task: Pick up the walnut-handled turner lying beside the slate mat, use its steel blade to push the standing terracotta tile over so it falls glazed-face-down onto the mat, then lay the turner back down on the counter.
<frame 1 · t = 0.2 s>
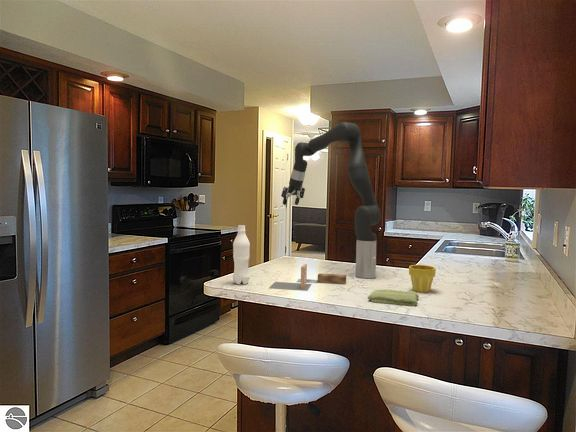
hand: (290, 204, 240), 31 cm above the countertop, tool tilted 20°, fingers open, 8 cm apart
turner: (331, 284, 183), on the countertop
water bottle: (241, 283, 181), on the countertop
washcloth: (393, 301, 158), on the countertop
plant pot: (421, 290, 173), on the countertop
slate mat: (290, 287, 175), on the countertop
tile: (303, 286, 174), point 1 cm above the countertop, touching slate mat
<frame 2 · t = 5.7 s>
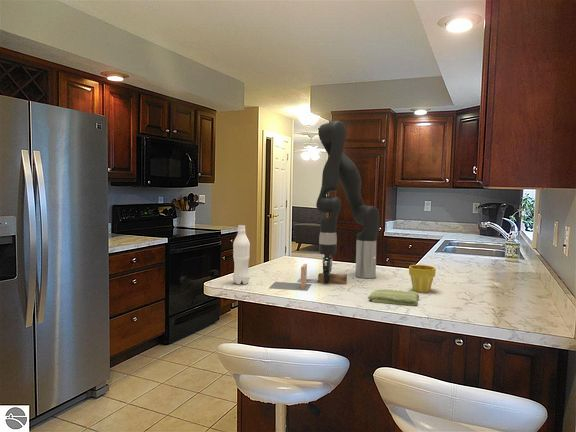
hand: (327, 281, 183), 1 cm above the countertop, tool pointing down, fingers closed on turner, 4 cm apart
turner: (332, 283, 183), on the countertop, touching gripper
everything else where it was.
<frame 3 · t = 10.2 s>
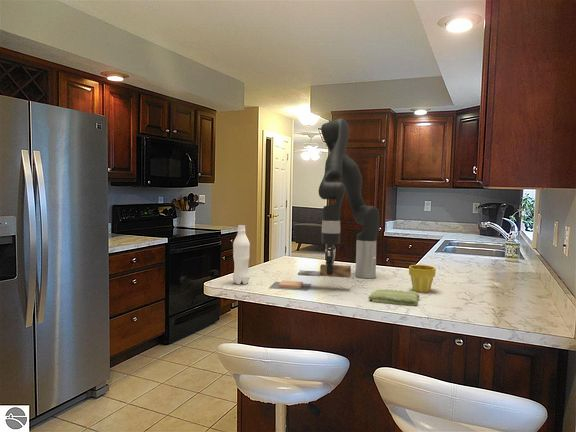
hand: (330, 273, 171), 7 cm above the countertop, tool pointing down, fingers closed on turner, 4 cm apart
turner: (335, 275, 171), point 6 cm above the countertop, touching gripper
tile: (301, 285, 174), point 1 cm above the countertop, tilted 90°, touching slate mat
everything else where it was.
when the fingers open (1 cm above the countertop, at t = 15.9 s): turner stays where it is, on the countertop.
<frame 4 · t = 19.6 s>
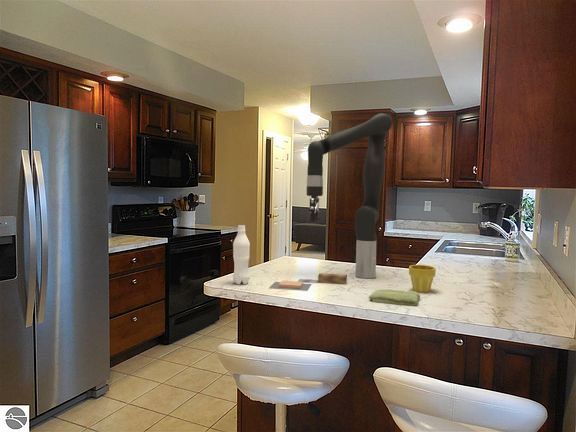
hand: (314, 220, 195), 26 cm above the countertop, tool pointing down, fingers open, 8 cm apart
turner: (332, 284, 183), on the countertop
everything else where it was.
at the end: tile tilted 90°; tile inside the target area (3.7 cm from its centre), point 1.3 cm above the countertop; turner touching countertop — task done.
